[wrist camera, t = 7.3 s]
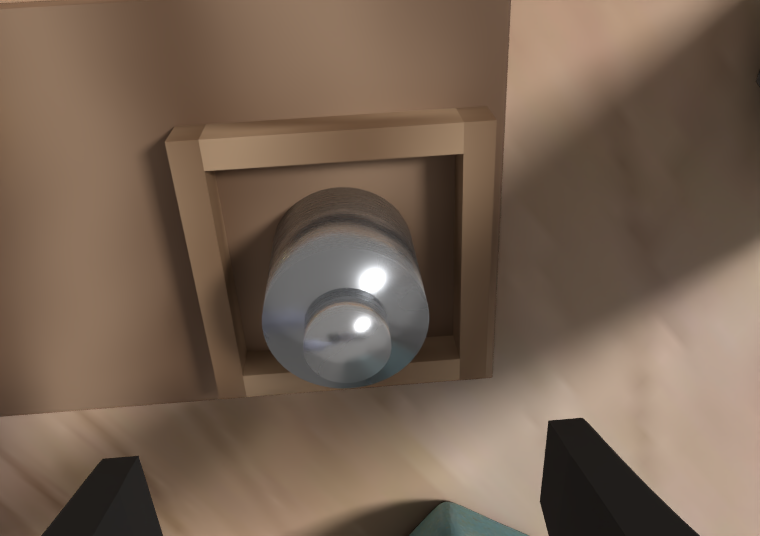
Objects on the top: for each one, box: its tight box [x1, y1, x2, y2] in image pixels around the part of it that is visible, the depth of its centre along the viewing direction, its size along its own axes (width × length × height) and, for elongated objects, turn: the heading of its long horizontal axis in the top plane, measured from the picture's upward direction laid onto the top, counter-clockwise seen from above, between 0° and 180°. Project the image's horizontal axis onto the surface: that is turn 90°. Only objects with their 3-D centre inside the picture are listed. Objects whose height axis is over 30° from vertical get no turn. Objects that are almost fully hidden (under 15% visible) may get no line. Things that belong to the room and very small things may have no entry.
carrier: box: [0, 0, 511, 417], centre depth 18 cm, size 18×12×2 cm, turn 92°
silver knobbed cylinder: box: [262, 187, 429, 388], centre depth 17 cm, size 4×4×5 cm
